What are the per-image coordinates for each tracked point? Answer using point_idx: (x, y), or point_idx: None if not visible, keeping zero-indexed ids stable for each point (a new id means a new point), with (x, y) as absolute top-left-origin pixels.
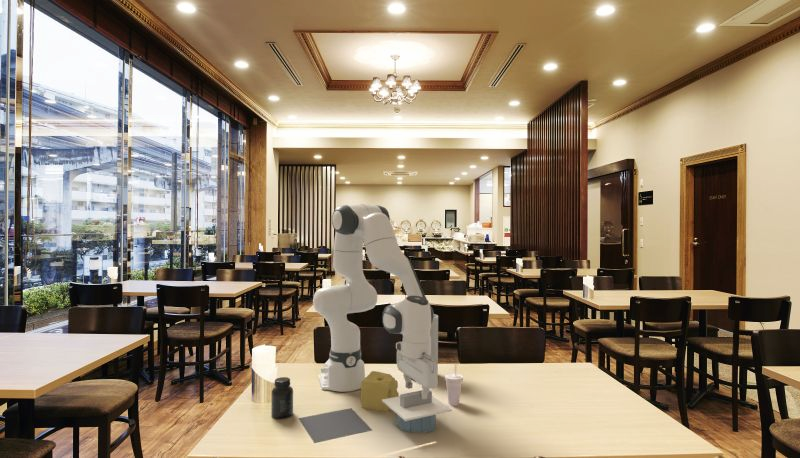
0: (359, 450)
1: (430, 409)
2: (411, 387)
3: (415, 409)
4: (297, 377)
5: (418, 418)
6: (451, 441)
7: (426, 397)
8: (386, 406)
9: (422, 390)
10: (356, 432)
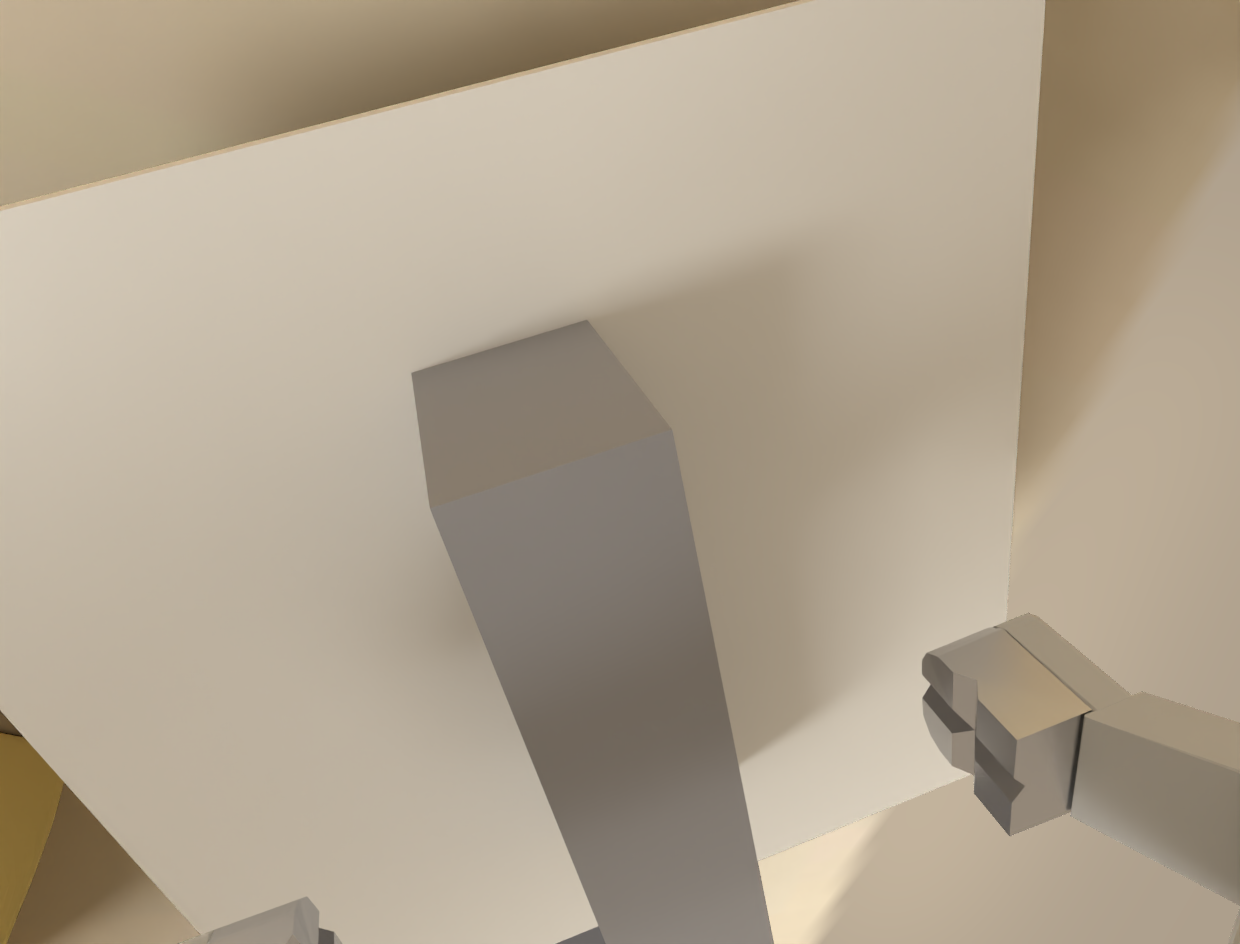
0: (838, 870)
1: (880, 419)
2: (309, 919)
3: (791, 647)
4: None
5: None
6: (1043, 108)
7: (1042, 639)
8: (45, 831)
9: (1204, 871)
10: (596, 939)
